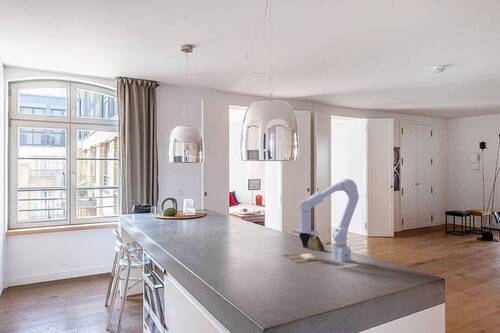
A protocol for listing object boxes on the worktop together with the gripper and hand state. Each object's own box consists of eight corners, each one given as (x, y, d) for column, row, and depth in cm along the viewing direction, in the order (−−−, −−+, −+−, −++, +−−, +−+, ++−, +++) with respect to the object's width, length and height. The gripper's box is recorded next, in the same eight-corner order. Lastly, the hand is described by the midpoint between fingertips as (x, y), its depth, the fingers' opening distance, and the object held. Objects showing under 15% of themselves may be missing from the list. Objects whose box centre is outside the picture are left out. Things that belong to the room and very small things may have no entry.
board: (328, 264, 170) (328, 262, 170) (301, 267, 164) (301, 265, 164) (305, 254, 191) (305, 252, 191) (280, 256, 185) (280, 254, 185)
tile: (309, 256, 181) (316, 259, 175) (300, 257, 179) (307, 260, 173) (309, 253, 181) (316, 256, 175) (300, 254, 179) (307, 257, 173)
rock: (301, 246, 201) (310, 247, 192) (307, 234, 204) (316, 234, 195) (314, 255, 204) (323, 257, 195) (320, 243, 207) (329, 245, 198)
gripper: (320, 222, 179) (320, 248, 179) (297, 220, 188) (296, 244, 188) (315, 224, 173) (315, 250, 173) (290, 221, 182) (290, 246, 182)
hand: (305, 247), depth 180 cm, fingers closed
